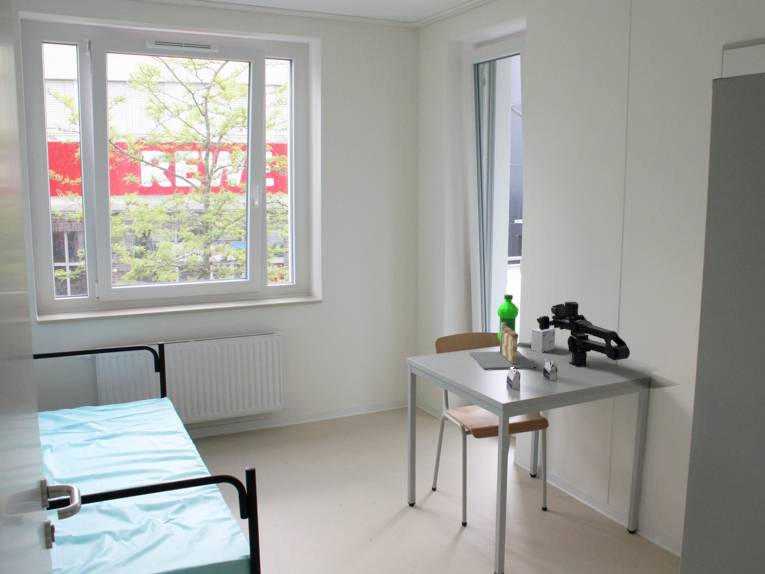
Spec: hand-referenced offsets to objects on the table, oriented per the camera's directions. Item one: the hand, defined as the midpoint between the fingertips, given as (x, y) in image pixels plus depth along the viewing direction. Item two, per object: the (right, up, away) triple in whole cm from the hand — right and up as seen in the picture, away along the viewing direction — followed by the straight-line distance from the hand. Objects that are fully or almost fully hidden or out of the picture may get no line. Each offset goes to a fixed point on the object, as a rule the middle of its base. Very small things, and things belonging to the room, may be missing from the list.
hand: (544, 318), depth 331 cm
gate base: (-23, -19, -14) cm, 33 cm away
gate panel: (-20, -18, -15) cm, 31 cm away
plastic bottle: (-15, -14, +18) cm, 27 cm away
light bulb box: (0, -16, +6) cm, 17 cm away
